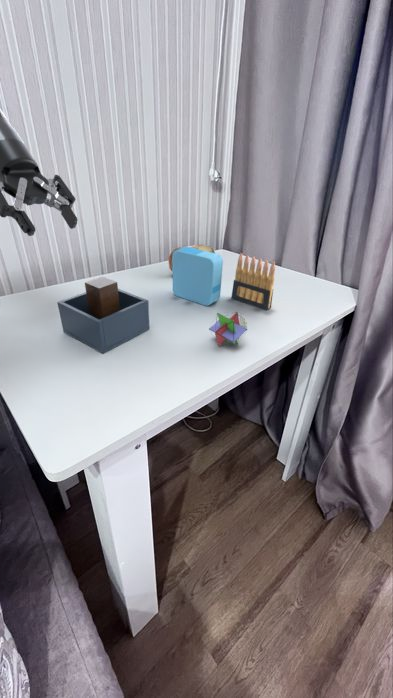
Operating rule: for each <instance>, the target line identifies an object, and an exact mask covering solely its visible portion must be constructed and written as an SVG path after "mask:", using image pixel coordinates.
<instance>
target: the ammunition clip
mask: <svg viewBox="0 0 393 698" xmlns="http://www.w3.org/2000/svg"><path fill="white" fill-rule="evenodd" d="M250 260H251V261H250ZM243 261H244V262H243ZM262 261H263V259H262V257H259V259H258V261H257V263H256V256H255V255H253V256H252V258H251V259H250V256H249V254H247V253H246V256H245V258H244V260H243V253H242V252H240V253H239V255H238V257H237V264H236V269H235V275H234V279H233V282H232V283H233V284H232V291H231V296H230V298H231V299H232V300H234V301H238V302H239V303H240V302H241V303H244V304H246V305H250V306H253V307H256V308H258V309H262V310H264V311H269V310H271V308H272V305H273V304H272V302H273V297H274V296H273V294H274V284H275V272H276V262H275V260H273V261H272V262H271V265H270V268H269V260H268V259H267V258H266V259H265V261H264V264H263V262H262Z"/></svg>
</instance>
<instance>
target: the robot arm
mask: <svg viewBox="0 0 393 698" xmlns="http://www.w3.org/2000/svg"><path fill="white" fill-rule="evenodd" d="M3 192H5V193H6V194H7V195H9V196H10V197H12V198H13V204H12V205H10V204H9V203H8V201H7V199H6V197H5V196H4V194H3ZM48 195H50V198H48ZM75 202H76V197H75V195H74V194H73V193H72V192H71V190H70V188H69V187H68V186H67V184H66V182H65V181H64V180H63V179H62V177H61V176H60V175H59V174H54V177H52V178H47V177H45V176H44V175H43V174H42V173H41V169H40V167H39V164H38V163H37V162H36V160H35V158H34V157H33V155H32V153H31V152H30V151H29V149H28V147H27V146H26V143H25V142H24V141H23V138H21V136H20V134H19V133H18V131H17V130H16V129H15V128H14V126H12V124H11V123H10V122H9V120H8V118H7V117H6V115H5V113H4V111H3V110H2V109H1V108H0V217H1V218H7V217H11V218H12V219H14V221H16V223H17V225H18V226H19V228H20V229H21V231H22V232H23V233H24V234H27V236H28V237H32V236H35V233H36V226H35V225H34V224H33V222H32V220H31V219H30V217H29V216H28V214H27V213H26V210H23V204H24V205H26V206H33V205H43V204H44V205H46V206H47V207H49V208H54V209H55V210H57V211H59V212H60V215H61V216H62V218H63V219H64V221H65V222H66V224H67V226H68V227H69V229H70V230H71V229H72V230H73V229H76V227H77V225H78V217H77V216H76V213H74V211H73V209H72V208H73V207H74V206H73V205H74V204H75Z"/></svg>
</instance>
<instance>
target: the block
mask: <svg viewBox="0 0 393 698" xmlns="http://www.w3.org/2000/svg"><path fill="white" fill-rule="evenodd" d="M118 285H119V283H118V281H116V280H113V279H111V278H108V277H105V276H100V277H97V278H94V279H91V280H87V281H85V282H84V288H85V292H86V295H87V302H88V308H89V315H91V316H93V317H95V318H97V319H99V320H100V319H102V318H104V317H106V316H109V315H111V314H113V313H116V312H118V311H120V305H119V295H118V289H119V286H118Z"/></svg>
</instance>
